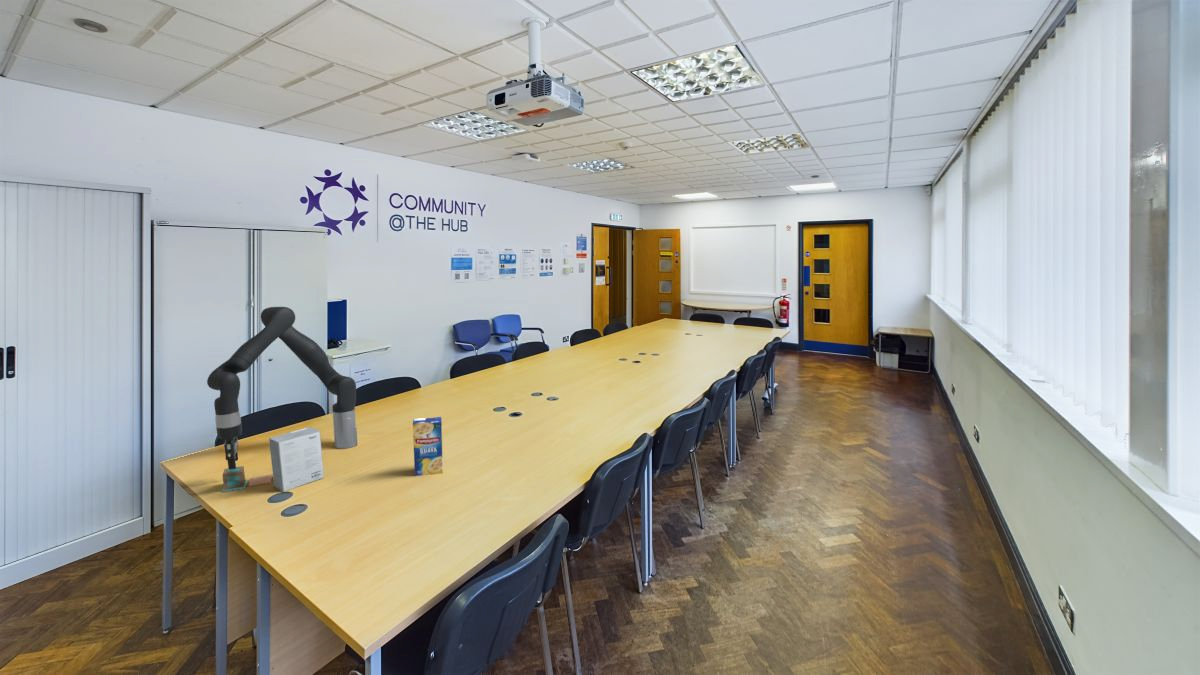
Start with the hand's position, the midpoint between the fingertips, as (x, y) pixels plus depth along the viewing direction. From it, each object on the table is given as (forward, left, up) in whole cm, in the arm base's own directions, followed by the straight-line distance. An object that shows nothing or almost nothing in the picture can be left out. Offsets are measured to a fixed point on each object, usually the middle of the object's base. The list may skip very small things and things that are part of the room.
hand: (233, 464), depth 187 cm
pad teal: (0, 0, -9) cm, 9 cm away
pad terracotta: (-8, -1, -9) cm, 12 cm away
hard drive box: (-21, +8, -9) cm, 24 cm away
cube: (0, 0, -8) cm, 8 cm away
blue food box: (-67, +21, -9) cm, 71 cm away
